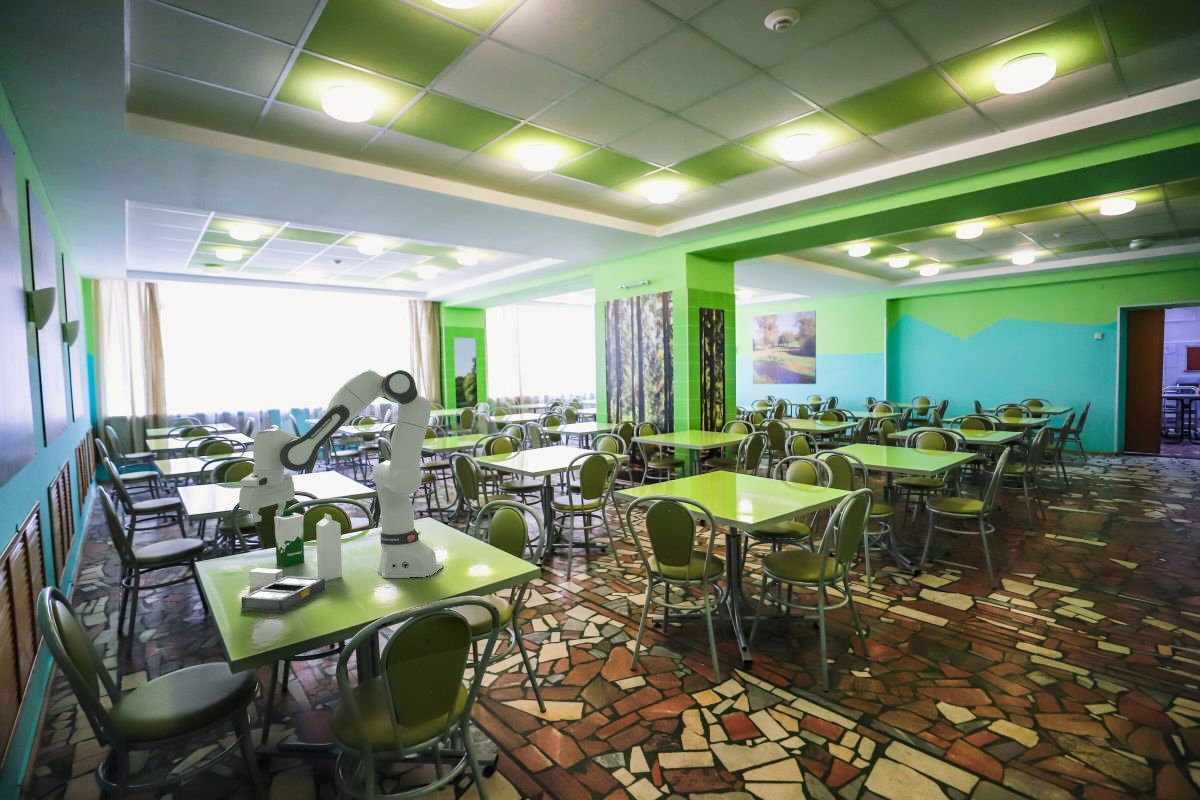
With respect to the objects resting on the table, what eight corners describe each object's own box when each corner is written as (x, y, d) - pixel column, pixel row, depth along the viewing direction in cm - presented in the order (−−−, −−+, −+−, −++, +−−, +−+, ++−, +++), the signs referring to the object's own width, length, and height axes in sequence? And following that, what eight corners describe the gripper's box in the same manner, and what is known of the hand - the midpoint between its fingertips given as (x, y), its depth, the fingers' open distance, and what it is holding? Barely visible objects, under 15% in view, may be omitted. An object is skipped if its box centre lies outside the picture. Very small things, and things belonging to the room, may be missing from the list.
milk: (335, 572, 202) (333, 511, 201) (342, 576, 197) (340, 514, 197) (317, 577, 197) (315, 514, 197) (324, 581, 193) (322, 517, 192)
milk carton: (297, 557, 219) (295, 506, 219) (308, 562, 214) (306, 509, 213) (272, 563, 212) (271, 511, 212) (284, 568, 207) (282, 514, 206)
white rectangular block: (283, 587, 188) (282, 569, 188) (276, 591, 185) (275, 573, 185) (257, 585, 190) (256, 568, 190) (250, 589, 187) (249, 571, 187)
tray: (326, 590, 185) (326, 578, 185) (282, 614, 166) (282, 600, 166) (287, 587, 188) (287, 575, 188) (240, 610, 169) (239, 597, 169)
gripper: (284, 472, 199) (283, 511, 200) (235, 481, 179) (235, 524, 180) (299, 473, 198) (299, 512, 198) (252, 482, 178) (252, 526, 178)
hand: (268, 518), depth 189 cm, fingers open, 8 cm apart
